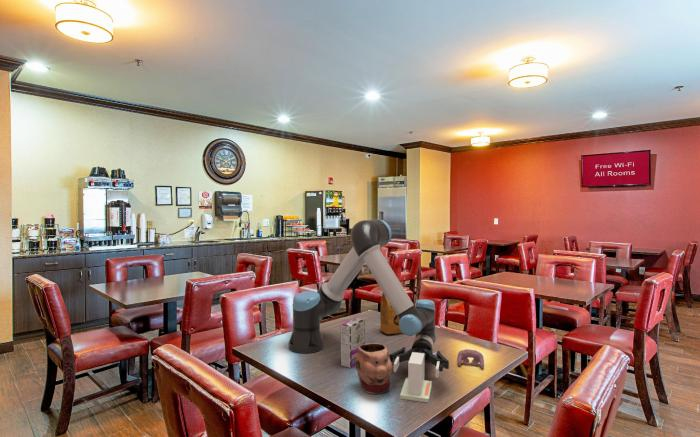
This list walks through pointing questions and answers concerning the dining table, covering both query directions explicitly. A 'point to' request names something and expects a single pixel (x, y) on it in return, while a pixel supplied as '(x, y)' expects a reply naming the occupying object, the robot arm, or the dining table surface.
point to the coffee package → (388, 317)
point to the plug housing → (416, 373)
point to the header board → (422, 398)
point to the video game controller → (467, 353)
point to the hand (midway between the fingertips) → (415, 370)
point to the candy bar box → (351, 340)
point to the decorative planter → (373, 367)
